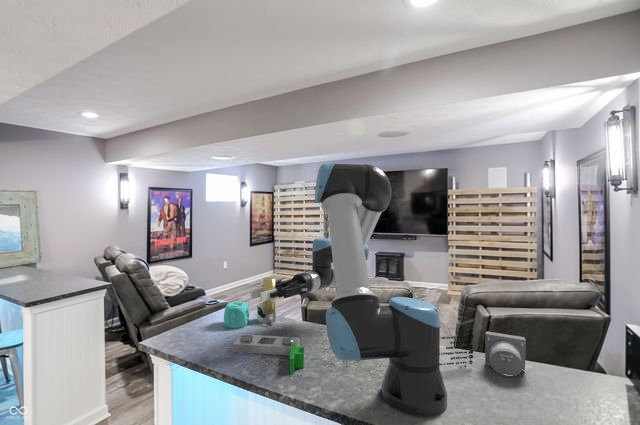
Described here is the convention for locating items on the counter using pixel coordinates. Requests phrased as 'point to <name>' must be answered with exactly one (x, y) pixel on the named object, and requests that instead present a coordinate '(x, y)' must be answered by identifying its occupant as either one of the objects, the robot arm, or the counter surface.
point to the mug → (264, 315)
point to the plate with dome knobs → (265, 344)
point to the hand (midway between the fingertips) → (256, 295)
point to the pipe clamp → (296, 357)
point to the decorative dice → (236, 315)
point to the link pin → (270, 304)
